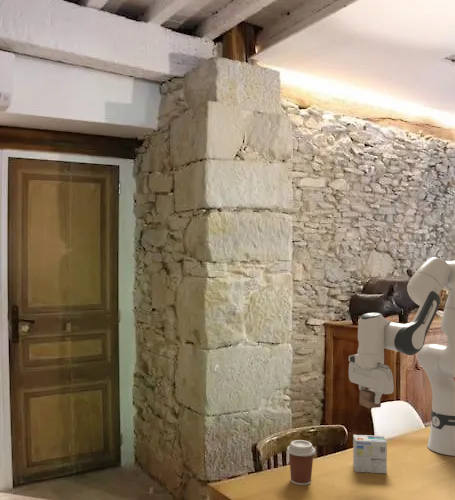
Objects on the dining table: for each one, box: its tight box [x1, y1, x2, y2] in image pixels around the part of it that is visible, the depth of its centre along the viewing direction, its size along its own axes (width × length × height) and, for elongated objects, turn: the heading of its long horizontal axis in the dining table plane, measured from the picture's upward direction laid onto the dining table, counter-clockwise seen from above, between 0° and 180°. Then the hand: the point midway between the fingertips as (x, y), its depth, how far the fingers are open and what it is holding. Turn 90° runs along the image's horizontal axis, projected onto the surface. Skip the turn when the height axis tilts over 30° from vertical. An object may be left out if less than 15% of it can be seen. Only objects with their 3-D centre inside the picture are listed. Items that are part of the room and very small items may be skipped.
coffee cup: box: [286, 439, 317, 486], centre depth 170 cm, size 9×9×12 cm
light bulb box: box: [352, 434, 388, 474], centre depth 181 cm, size 11×7×11 cm, turn 84°
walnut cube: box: [359, 388, 382, 409], centre depth 181 cm, size 5×5×5 cm
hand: (370, 401), depth 181 cm, fingers closed on walnut cube, 5 cm apart
